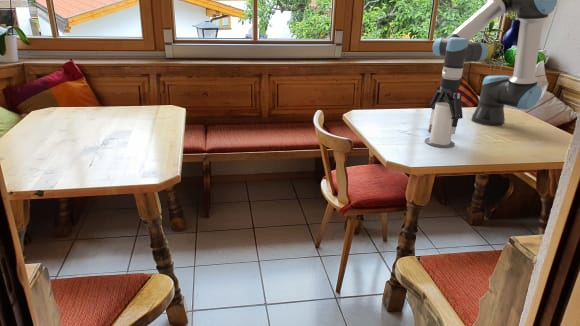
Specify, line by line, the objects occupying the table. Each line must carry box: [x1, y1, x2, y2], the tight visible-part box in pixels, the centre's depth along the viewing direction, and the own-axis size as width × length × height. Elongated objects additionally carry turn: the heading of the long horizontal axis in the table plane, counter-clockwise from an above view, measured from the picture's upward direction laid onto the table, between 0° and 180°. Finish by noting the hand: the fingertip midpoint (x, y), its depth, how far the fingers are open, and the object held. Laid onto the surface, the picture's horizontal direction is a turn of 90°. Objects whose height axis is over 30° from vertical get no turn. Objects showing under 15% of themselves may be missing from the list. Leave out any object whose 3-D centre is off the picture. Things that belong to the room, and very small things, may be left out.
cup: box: [429, 101, 453, 145], centre depth 178 cm, size 8×8×16 cm
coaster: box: [424, 136, 456, 149], centre depth 181 cm, size 12×12×1 cm
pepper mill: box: [428, 118, 432, 134], centre depth 194 cm, size 4×4×10 cm
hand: (441, 129), depth 178 cm, fingers open, 13 cm apart
